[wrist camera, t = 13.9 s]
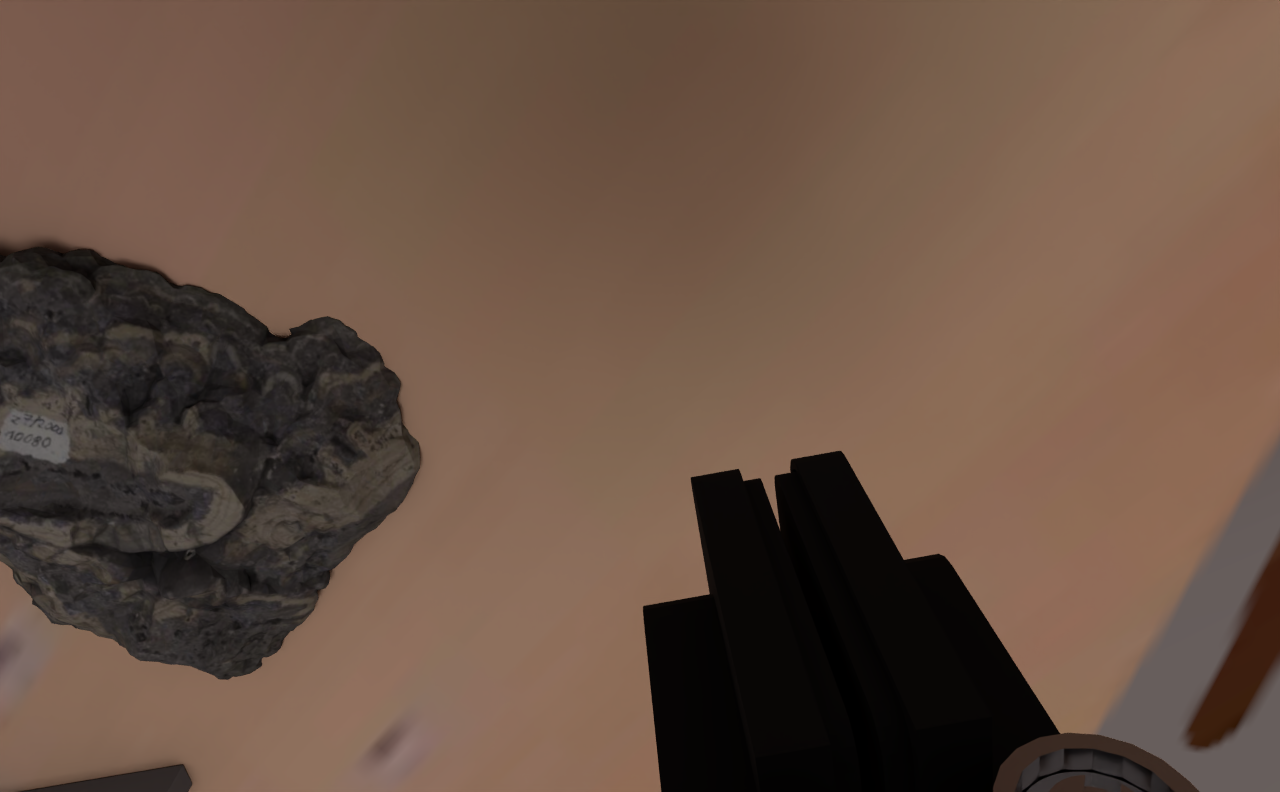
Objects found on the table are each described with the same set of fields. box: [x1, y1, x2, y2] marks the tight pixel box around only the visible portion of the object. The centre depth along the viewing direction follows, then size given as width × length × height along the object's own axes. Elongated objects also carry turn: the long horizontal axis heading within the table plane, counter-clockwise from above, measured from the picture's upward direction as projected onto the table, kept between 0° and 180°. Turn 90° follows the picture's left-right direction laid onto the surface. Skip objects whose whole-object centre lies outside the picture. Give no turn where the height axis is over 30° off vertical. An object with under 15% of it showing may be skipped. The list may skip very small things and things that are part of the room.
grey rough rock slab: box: [0, 247, 420, 680], centre depth 29 cm, size 19×4×15 cm
